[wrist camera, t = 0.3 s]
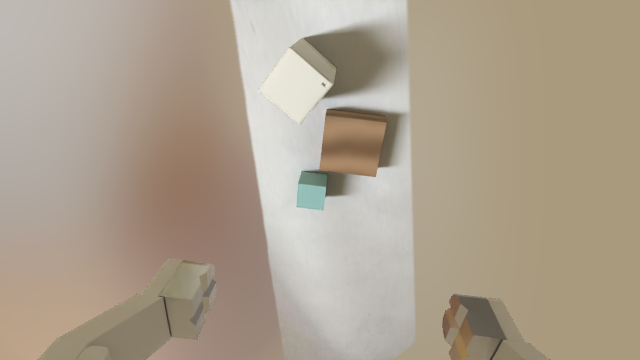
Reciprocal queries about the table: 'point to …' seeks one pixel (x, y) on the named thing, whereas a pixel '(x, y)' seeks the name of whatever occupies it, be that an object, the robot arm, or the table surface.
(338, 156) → the walnut block
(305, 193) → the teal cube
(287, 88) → the supplement box
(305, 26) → the table surface
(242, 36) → the table surface
